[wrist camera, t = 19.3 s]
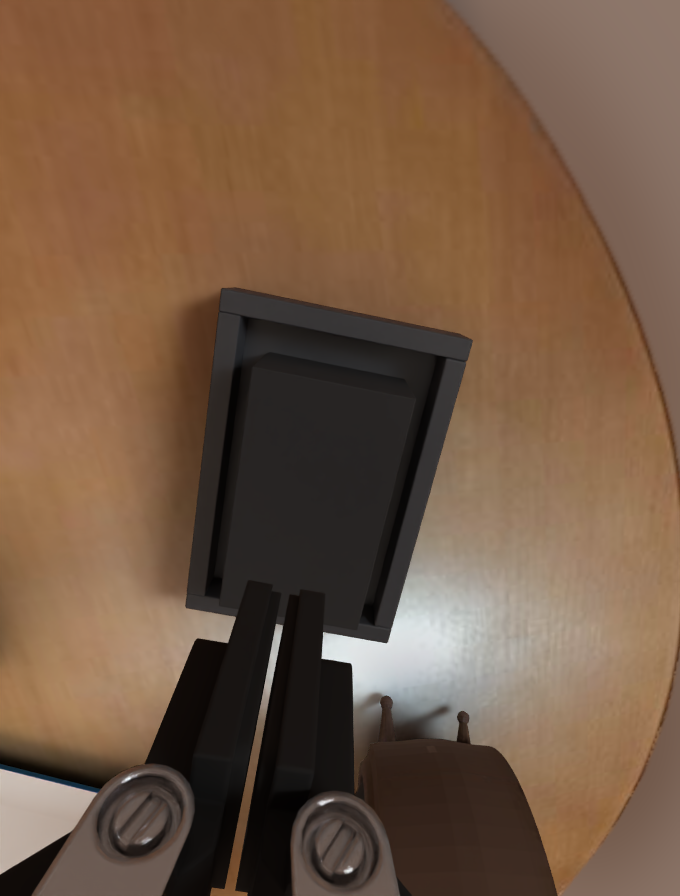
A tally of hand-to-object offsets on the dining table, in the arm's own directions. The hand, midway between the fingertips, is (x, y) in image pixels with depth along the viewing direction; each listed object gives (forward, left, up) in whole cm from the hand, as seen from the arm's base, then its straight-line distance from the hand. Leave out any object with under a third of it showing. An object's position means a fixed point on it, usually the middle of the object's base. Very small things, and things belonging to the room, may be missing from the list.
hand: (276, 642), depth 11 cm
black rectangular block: (0, 0, -11) cm, 11 cm away
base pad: (0, 0, -11) cm, 11 cm away
